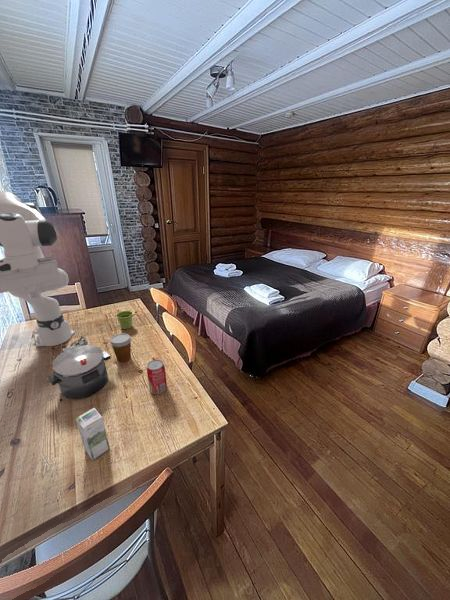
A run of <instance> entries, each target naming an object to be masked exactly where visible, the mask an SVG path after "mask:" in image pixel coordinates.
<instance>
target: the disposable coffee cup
mask: <svg viewBox="0 0 450 600" xmlns="http://www.w3.org/2000/svg"><path fill="white" fill-rule="evenodd" d="M131 341H132V336H130V334H128V333H118V334H114V335H113V336H111V338H110V341H109V344H110V345H111V347H112V349H113V350H112V351H113V353H114V354H115V355H114V356H115V357H116V360H117V362H118V363H119V364H123V363H127V362H129V361H130V360H131V358H132V354H131V350H132V349H131V348H132V347H131V346H132V345H131Z"/></svg>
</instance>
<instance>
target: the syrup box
mask: <svg viewBox="0 0 450 600" xmlns="http://www.w3.org/2000/svg"><path fill="white" fill-rule="evenodd" d="M75 422H76V425H77V428H78V431H79V435H80V438H81V442H82V444H83V447H84V451H85V452H86V454H88V456H89V458H90V459H91V461H95V460H96V459H97V458H99V457H100V456H101V455H103V454H105V452H107V451H109V450H110V449H111V448H110V443H109V438H108V434H107V432H106V431H107V430H106V426H105V422H104V418H103V416H102V415H101V414H100V413H99V412H98V410H97V409H96V408H95V407H93V408H91V409H89V410H88V411H86V412H84V413H83V414H81V415H79V416H77V417H75Z"/></svg>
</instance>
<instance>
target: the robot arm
mask: <svg viewBox="0 0 450 600" xmlns="http://www.w3.org/2000/svg"><path fill="white" fill-rule="evenodd" d="M57 241H58V233H57V229H56V227H55V226H54V224H53V223H52V222H51V221H49V220H48V219H47V218H45V217H44V216H43V215H42V212H41V210H40V209H39V207H38V206H37V205H36V204H35V203H31V202H24V203H23V201H22V200H21V199H20V197H18V195H15V194H14V193H13V192H10V191H6V190H5V191H0V247H2V248H3V253H4V258H1V259H0V294H3V293H7V292H8V293H9V294H10V295H12V296H13V297H16V298H19V299H20V300H23V301H25V302H27V303H28V304H29V305H30V306H31V308H32V309H33V312H34V315H35V317H36V329H34V330H33V333H34V334H33V335H34V339H35V346H36V347H54V346H58V345H61V344H63V343H66V342H68V341H69V340H70V339H71V338H72V336H73V335H75V330H73V329H71V326H70V324H69V321H67V320H65V317H64V314H63V313H62V310H61V306H60V304H59V301H58V300H57V299H56V298H53V297H48V296H43V293H48V292H52V291H57V290H60V289H62V288H65V287H67V285H68V283H69V281H70V280H69V275H68V273H67V272H66V271H65V270H64V269H62V268H60V267H58V261H57V259H56V258H55V257H51V256H49V257H48V256H47V257H45V255H44V254H43V251H42V249H41V247H51V246H53V245H54V244H55V243H56V242H57Z"/></svg>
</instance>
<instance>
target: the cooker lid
mask: <svg viewBox="0 0 450 600" xmlns="http://www.w3.org/2000/svg"><path fill="white" fill-rule="evenodd" d="M69 346H70V345H69ZM69 346H68V347H64V348H62V349H61V350H62V351H61V353H60V354H58V355H57V356H56V357H55V359H54V360H53V362H52V369H53V371H54V374H55V373H56V374H57V375H59V376H62V377H76V376H81V375H84V374H86V373H89V372H91V371H93V370H94V369H96V368H97V367H98V366H99V365H100V364H101V363H102V361H103V352H104V351H103V350H102V348H100V347H99V346H96V345H92V344H87V345H83V346H77V347H76V346H75V345H72V346H70V347H69Z"/></svg>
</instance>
